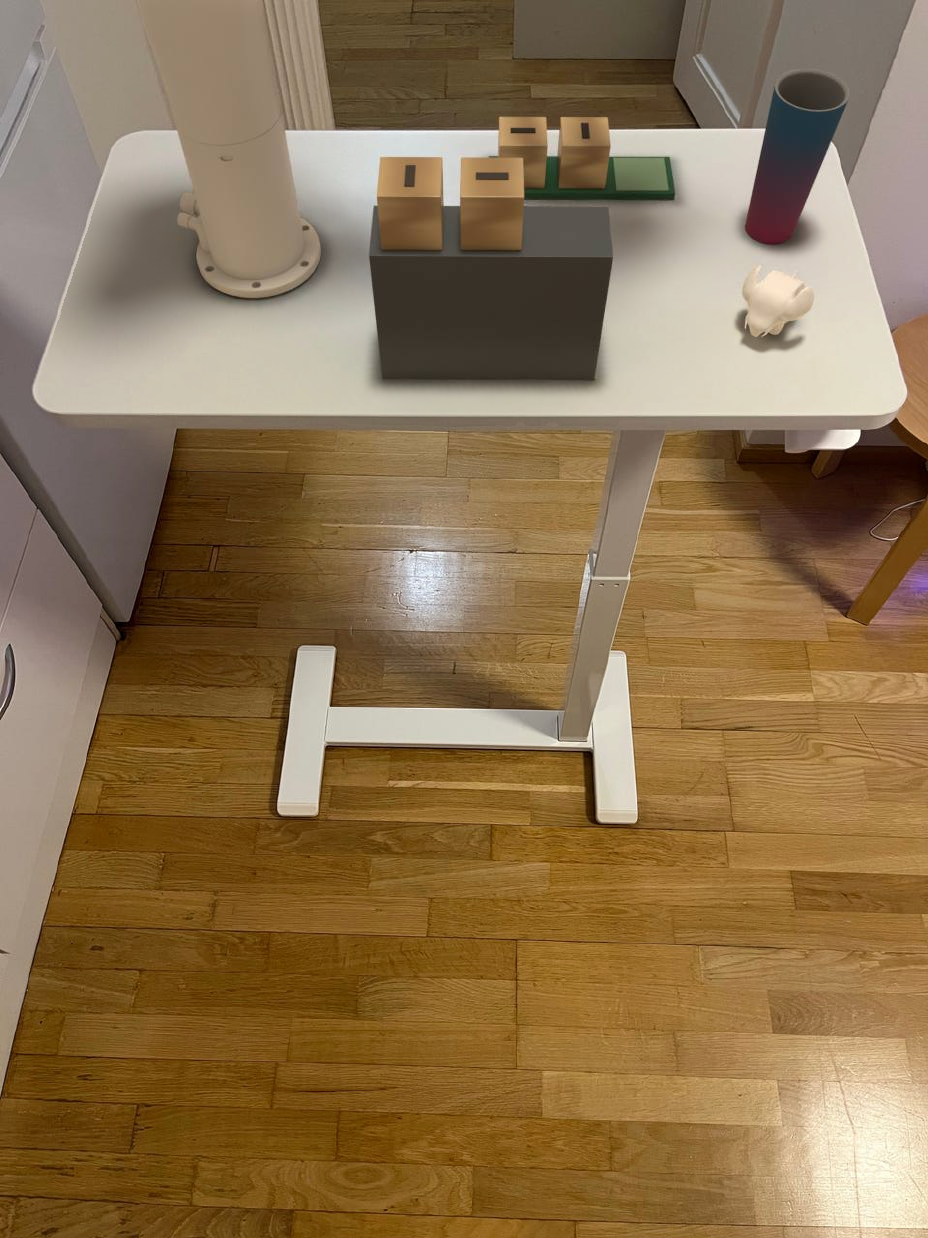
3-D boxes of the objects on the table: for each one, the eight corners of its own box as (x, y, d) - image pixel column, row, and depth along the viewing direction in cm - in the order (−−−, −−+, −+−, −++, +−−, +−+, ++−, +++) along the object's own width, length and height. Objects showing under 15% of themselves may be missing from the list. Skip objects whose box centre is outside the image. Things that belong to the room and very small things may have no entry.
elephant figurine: (716, 333, 94) (730, 284, 89) (755, 287, 98) (771, 238, 93) (779, 363, 92) (797, 315, 87) (816, 315, 96) (836, 266, 91)
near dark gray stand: (382, 378, 92) (362, 200, 75) (385, 330, 95) (368, 149, 78) (594, 380, 91) (621, 202, 75) (590, 331, 95) (616, 150, 78)
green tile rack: (488, 198, 105) (489, 148, 100) (488, 162, 108) (489, 111, 103) (674, 199, 105) (684, 149, 100) (668, 162, 108) (678, 112, 103)
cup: (801, 253, 100) (849, 114, 87) (734, 245, 101) (773, 106, 88) (802, 211, 104) (850, 72, 91) (738, 203, 104) (776, 64, 91)
